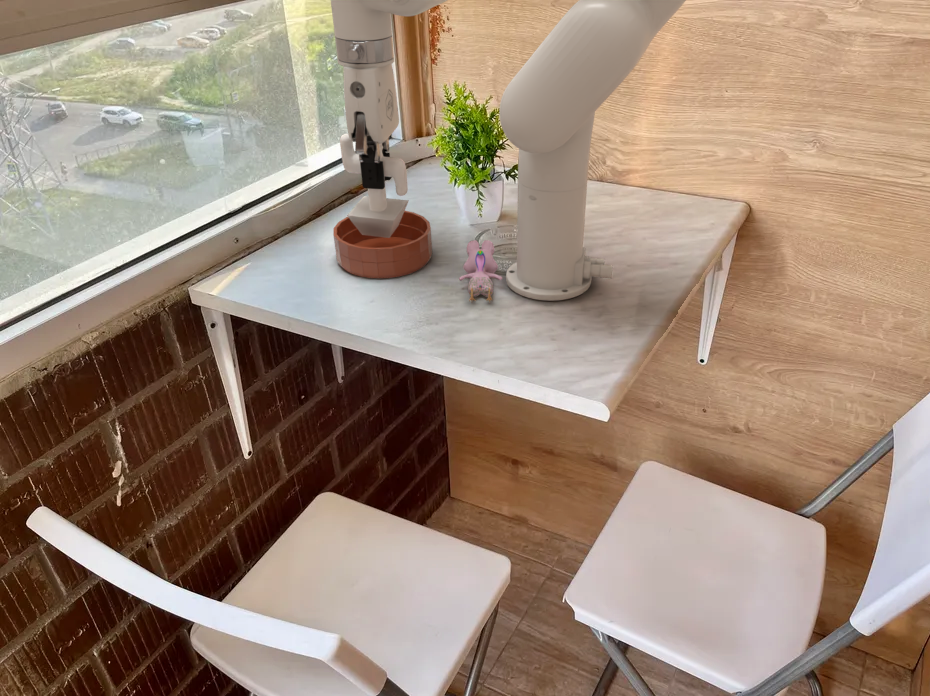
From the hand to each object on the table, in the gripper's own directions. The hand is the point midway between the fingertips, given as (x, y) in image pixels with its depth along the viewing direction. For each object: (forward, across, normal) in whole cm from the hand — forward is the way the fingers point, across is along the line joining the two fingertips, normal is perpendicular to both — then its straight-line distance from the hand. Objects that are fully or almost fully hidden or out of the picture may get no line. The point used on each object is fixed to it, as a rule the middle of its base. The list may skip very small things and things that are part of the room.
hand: (377, 182), depth 113 cm
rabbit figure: (+12, -5, -16) cm, 21 cm away
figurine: (+8, 0, 0) cm, 8 cm away
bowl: (+12, 0, 0) cm, 12 cm away
